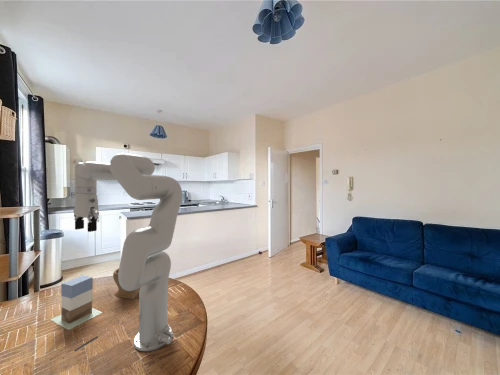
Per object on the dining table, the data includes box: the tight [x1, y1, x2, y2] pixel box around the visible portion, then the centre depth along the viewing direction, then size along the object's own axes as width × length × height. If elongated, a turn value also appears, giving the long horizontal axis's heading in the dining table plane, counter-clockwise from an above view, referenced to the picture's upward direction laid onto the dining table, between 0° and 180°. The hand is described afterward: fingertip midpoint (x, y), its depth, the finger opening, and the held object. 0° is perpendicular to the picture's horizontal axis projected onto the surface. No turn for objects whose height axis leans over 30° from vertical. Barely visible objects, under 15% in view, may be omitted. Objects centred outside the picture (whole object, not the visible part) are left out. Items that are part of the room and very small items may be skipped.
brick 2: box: [61, 289, 93, 311], centre depth 86 cm, size 6×8×5 cm
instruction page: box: [73, 336, 99, 352], centre depth 74 cm, size 9×7×1 cm
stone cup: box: [112, 267, 140, 300], centre depth 103 cm, size 15×12×15 cm
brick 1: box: [60, 275, 94, 298], centre depth 86 cm, size 6×8×5 cm
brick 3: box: [60, 300, 93, 324], centre depth 86 cm, size 6×8×5 cm
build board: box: [50, 307, 103, 331], centre depth 86 cm, size 14×12×1 cm
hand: (85, 230), depth 90 cm, fingers open, 9 cm apart
